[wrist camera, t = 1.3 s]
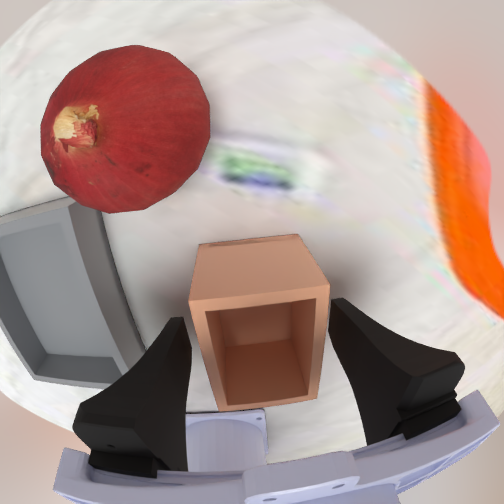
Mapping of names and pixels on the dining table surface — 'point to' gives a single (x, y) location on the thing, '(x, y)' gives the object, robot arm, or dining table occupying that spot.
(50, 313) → the big crate
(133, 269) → the dining table surface
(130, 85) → the onion
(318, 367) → the small crate
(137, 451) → the robot arm
